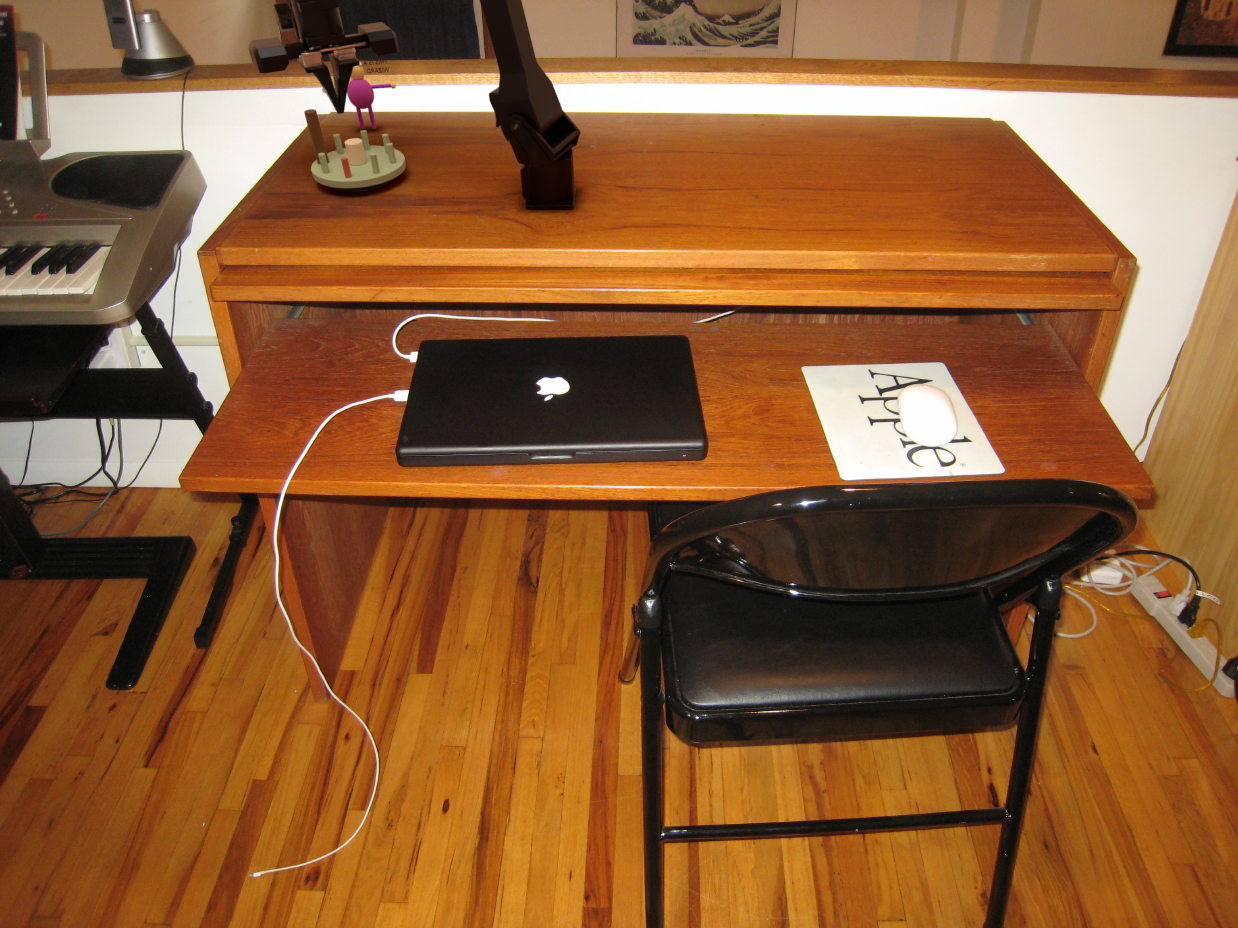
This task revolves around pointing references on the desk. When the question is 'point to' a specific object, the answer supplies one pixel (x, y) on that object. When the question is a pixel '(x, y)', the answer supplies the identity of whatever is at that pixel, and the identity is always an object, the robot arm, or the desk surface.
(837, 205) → the desk surface
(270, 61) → the robot arm
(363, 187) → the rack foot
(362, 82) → the wizard figurine
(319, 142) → the pegged crank wheel
